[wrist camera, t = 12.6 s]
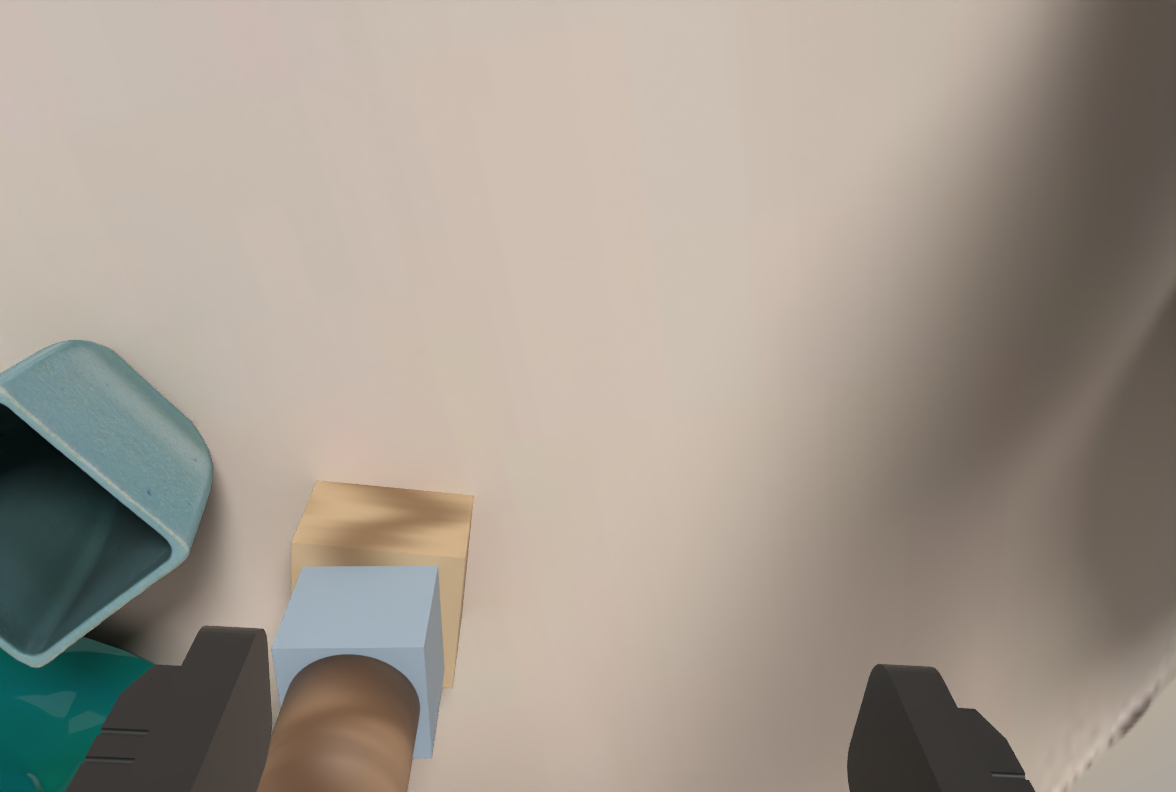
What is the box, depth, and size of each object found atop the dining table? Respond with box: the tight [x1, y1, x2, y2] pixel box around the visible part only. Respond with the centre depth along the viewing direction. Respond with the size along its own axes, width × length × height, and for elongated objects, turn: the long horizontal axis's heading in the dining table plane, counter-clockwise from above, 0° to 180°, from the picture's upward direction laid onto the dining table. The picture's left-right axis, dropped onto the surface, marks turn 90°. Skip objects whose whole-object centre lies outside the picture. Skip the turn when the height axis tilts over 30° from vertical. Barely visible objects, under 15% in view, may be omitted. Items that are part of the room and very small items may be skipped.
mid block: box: [271, 566, 445, 758], centre depth 39 cm, size 6×6×5 cm
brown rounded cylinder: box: [257, 654, 420, 792], centre depth 34 cm, size 5×5×5 cm
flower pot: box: [0, 340, 213, 668], centre depth 38 cm, size 9×9×9 cm
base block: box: [291, 481, 474, 689], centre depth 43 cm, size 7×7×5 cm
